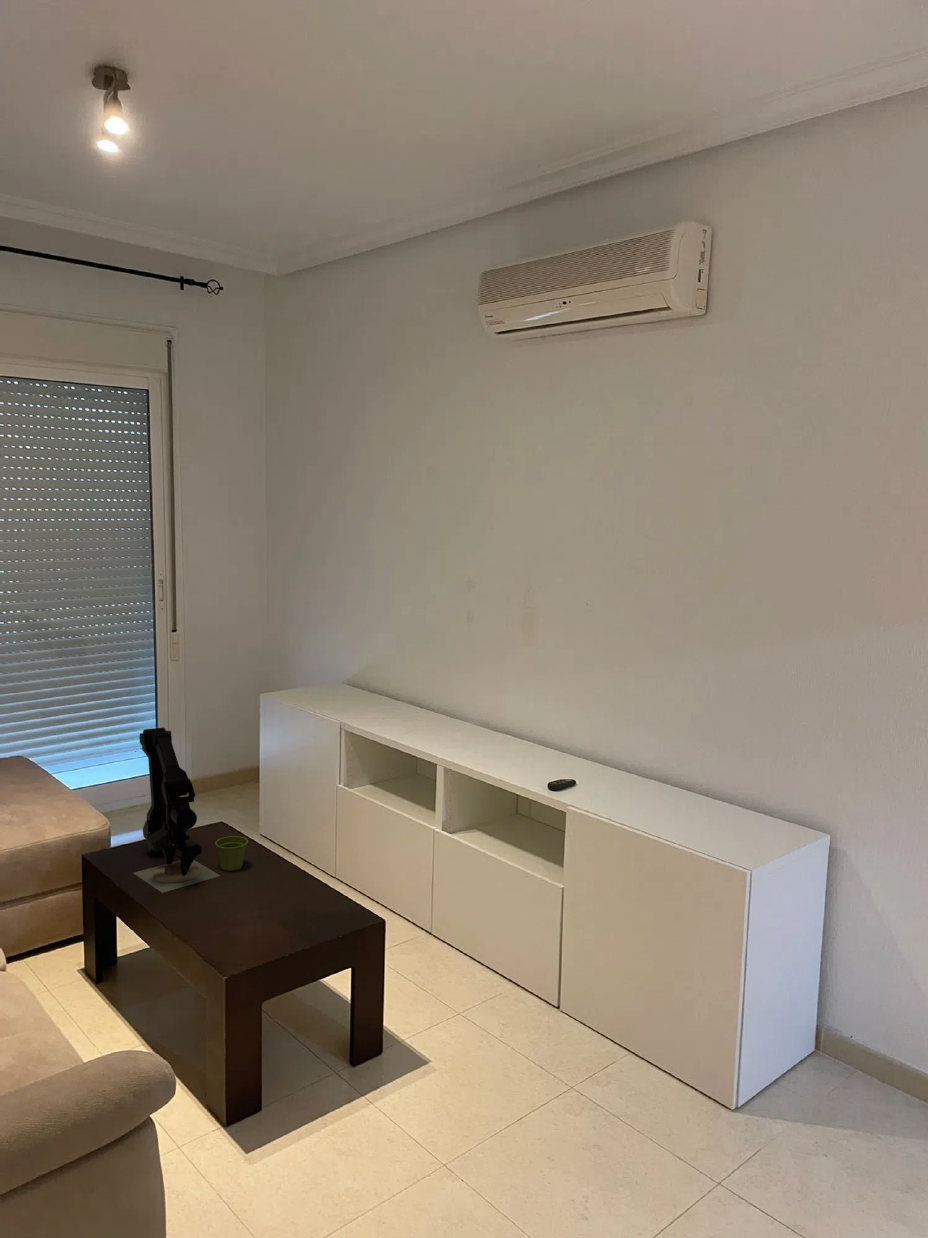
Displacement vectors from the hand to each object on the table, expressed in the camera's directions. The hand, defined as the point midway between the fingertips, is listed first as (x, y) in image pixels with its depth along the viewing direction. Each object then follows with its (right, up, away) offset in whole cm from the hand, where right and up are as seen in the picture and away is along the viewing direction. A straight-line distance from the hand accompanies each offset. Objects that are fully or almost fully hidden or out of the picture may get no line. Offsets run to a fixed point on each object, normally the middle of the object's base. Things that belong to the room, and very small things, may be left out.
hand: (176, 871), depth 262 cm
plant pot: (+14, -2, +7) cm, 16 cm away
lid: (0, -1, 0) cm, 1 cm away
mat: (0, -2, 0) cm, 2 cm away
